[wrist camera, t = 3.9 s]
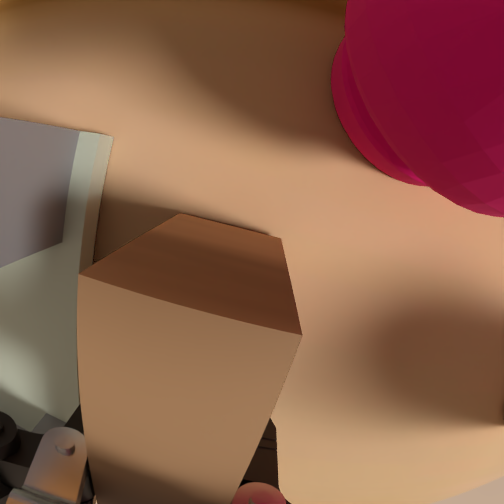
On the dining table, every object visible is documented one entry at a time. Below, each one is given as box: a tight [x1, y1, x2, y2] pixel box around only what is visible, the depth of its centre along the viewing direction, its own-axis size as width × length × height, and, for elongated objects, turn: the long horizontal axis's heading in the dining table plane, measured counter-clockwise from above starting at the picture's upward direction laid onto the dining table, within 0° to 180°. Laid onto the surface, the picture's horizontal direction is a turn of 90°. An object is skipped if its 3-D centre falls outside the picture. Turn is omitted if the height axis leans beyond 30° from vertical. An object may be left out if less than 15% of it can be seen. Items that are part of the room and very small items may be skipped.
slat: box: [77, 213, 302, 504], centre depth 9 cm, size 12×3×6 cm, turn 166°
